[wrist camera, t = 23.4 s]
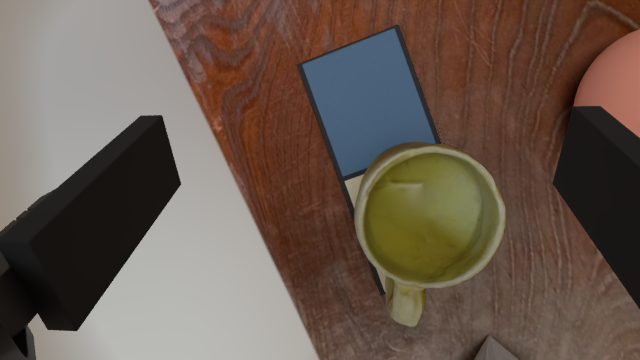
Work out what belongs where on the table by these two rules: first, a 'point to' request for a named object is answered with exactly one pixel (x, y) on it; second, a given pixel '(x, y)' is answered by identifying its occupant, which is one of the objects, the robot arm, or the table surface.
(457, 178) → the mug
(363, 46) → the sorting mat
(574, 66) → the table surface
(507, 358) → the gemstone
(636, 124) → the sugar bowl
